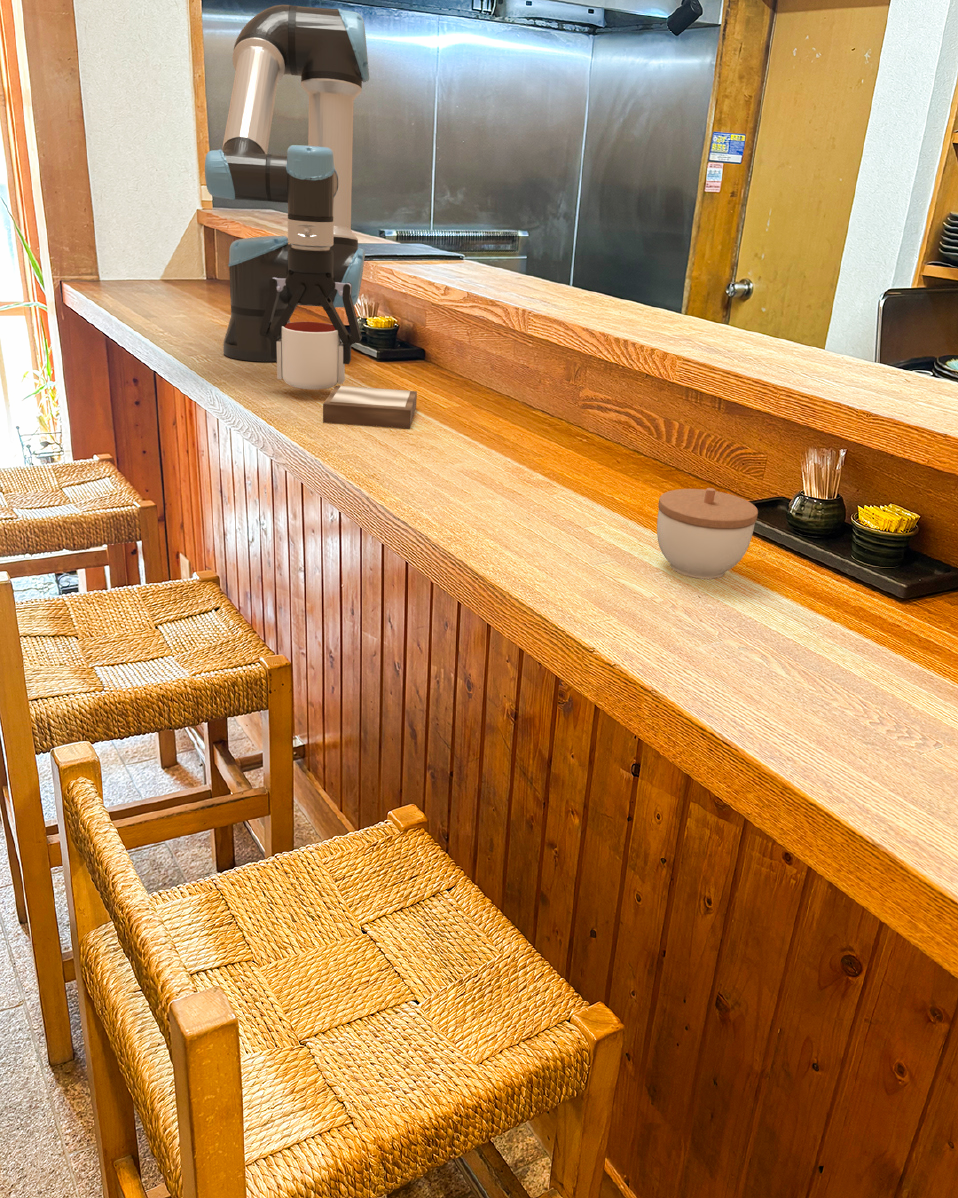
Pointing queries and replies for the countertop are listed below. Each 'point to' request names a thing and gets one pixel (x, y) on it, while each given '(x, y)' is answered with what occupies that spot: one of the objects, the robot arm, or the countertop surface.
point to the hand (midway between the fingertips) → (311, 379)
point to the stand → (370, 407)
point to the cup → (310, 355)
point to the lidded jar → (704, 531)
